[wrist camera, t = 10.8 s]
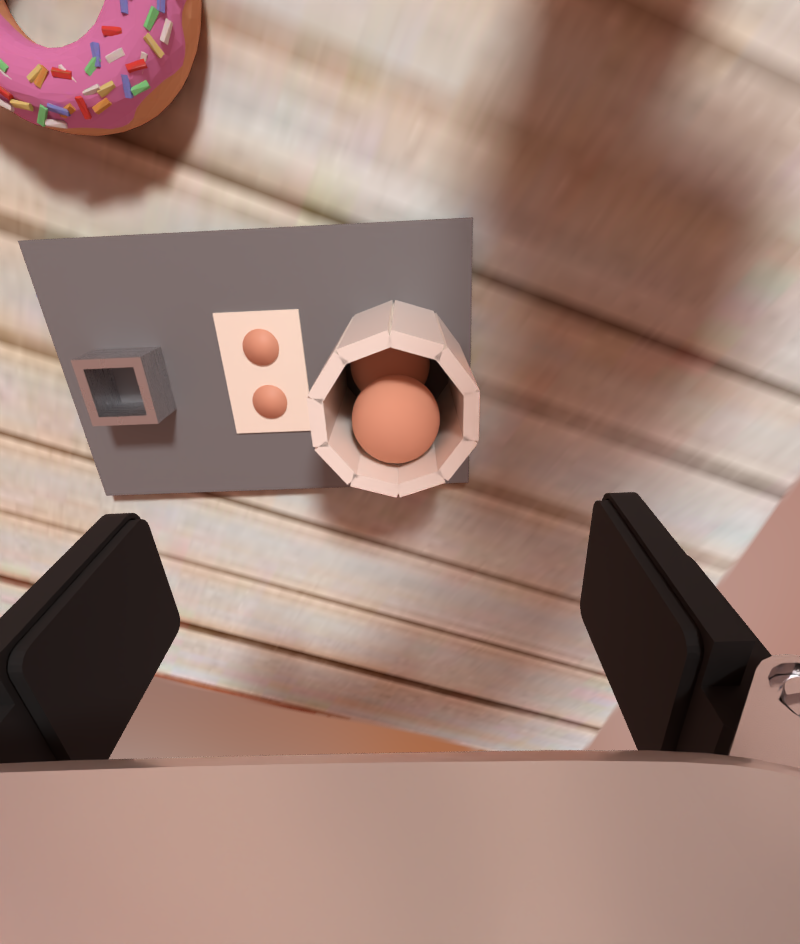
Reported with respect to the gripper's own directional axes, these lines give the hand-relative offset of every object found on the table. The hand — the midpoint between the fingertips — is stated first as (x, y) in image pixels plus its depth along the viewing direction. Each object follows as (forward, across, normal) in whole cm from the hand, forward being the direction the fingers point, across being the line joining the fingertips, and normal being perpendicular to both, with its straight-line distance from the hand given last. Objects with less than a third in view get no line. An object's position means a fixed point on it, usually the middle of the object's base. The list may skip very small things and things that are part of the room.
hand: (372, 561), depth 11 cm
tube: (+25, 0, +3) cm, 25 cm away
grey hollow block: (+25, +18, +3) cm, 31 cm away
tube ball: (+23, 0, +2) cm, 23 cm away
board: (+26, +9, +3) cm, 28 cm away
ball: (+18, 0, +4) cm, 19 cm away
